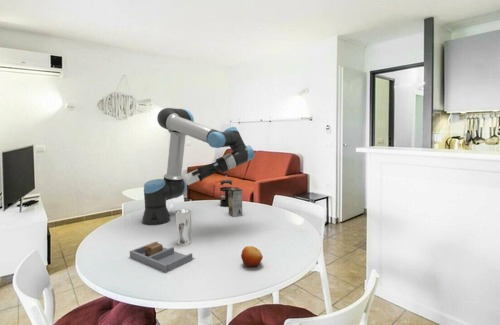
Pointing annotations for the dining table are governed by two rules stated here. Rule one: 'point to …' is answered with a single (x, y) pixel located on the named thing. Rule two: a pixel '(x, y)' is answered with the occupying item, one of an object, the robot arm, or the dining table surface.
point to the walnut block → (153, 249)
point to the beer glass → (183, 226)
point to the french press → (225, 201)
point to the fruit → (251, 256)
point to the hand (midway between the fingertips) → (186, 180)
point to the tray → (161, 258)
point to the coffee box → (235, 201)
